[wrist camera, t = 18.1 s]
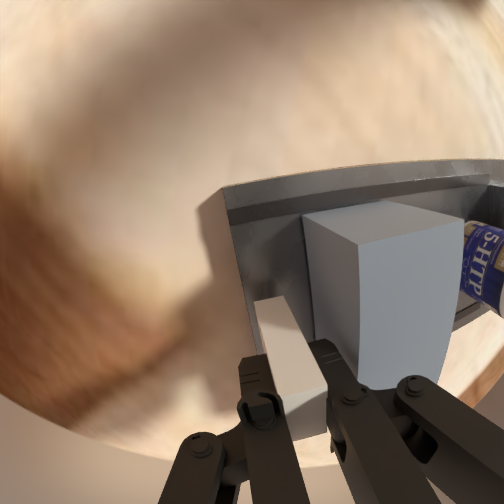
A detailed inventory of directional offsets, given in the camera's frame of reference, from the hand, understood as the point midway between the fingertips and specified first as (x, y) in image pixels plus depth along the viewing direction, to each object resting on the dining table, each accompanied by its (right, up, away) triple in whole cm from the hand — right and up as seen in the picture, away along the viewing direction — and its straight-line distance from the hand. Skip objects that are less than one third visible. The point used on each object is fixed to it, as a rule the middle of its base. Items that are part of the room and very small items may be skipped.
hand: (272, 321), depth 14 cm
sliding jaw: (+5, -2, +2) cm, 6 cm away
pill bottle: (+15, +3, +2) cm, 15 cm away
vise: (+10, +3, +3) cm, 11 cm away
